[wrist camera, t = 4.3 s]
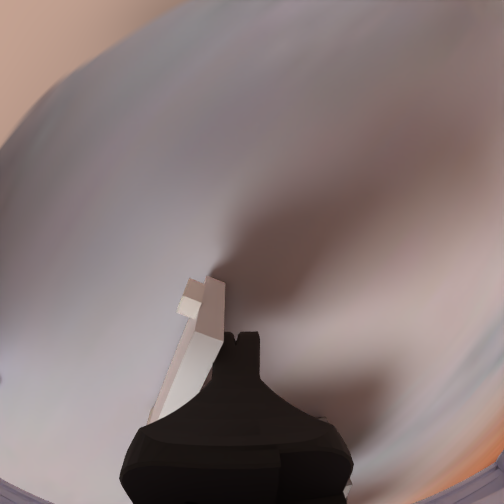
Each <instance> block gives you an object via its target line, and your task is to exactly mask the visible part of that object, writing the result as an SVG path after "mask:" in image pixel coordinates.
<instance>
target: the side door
mask: <svg viewBox="0 0 504 504" xmlns="http://www.w3.org/2000/svg"><path fill="white" fill-rule="evenodd" d="M224 309H225V283H224V282H222V281H219V280H217V279H214V278H212V277H209V276H206V278H205V281H204V283H200V282H198V281H195V280H193V279H191V278H189V280H188V283H187V285H186V288H185V290H184V293H183V296H182V298H181V301H180V303H179V306H178V309H177V311H176V312H177V313H180V314H182V315H185V316H187V317H189V319H188V322H187V324H186V327H185V329H184V332H183V334H182V337H181V339H180V342H179V344H178V347H177V349H176V352H175V354H174V357H173V359H172V362H171V364H170V367H169V370H168V372H167V375H166V377H165V380H164V382H163V385H162V388H161V390H160V393H159V396H158V398H157V401H156V403H155V406H154V408H152V409H151V411H150V414H149V418H148V421H147V425H148V424H150V423H153V422H155V421H157V420H159V419H161V418H163V417H165V416H167V415H169V414H170V413H172V412H174V411H175V410H177V409H178V408H180V407H181V406H183V405H184V404H186V403H187V402H188V401H190V400H191V399H192V398H193V397H194V396H196V395H197V394H198V393H199V392H200V390H201V387H202V385H203V383H204V381H205V379H206V377H207V375H208V373H209V371H210V369H211V367H212V365H213V363H214V361H215V359H216V357H217V355H218V352H219V350H220V348H221V346H222V344H223V342H224Z"/></svg>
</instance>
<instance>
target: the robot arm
mask: <svg viewBox="0 0 504 504" xmlns="http://www.w3.org/2000/svg"><path fill="white" fill-rule="evenodd" d="M259 368H260V337H259V334H258V332H240V333H239V334H238V338H237V341H236V342H235V339H234V335H233V334H232V333H231V332H224V342H223V344H222V346H221V348H220V350H219V352H218V355H217V357H216V359H215V361H214V363H213V373H212V380H211V381H210V382H209V383H208V384H207V385H206V386H205V387H204V388H203V389H202V390H201V391H200V392H199V393H198V394H197V395H196V396H194V397H193V398H192V399H191V400H190V401H188V402H187V403H186V404H184V405H183V406H181V407H180V408H178V409H177V410H175V411H174V412H172V413H170V414H169V415H167V416H165V417H163V418H161V419H159V420H157V421H155V422H153V423H150V424H148V425H146V426H144V427H141V428H139V430H138V432H137V433H136V435H135V437H134V439H133V441H132V443H131V444H130V446H129V448H128V450H127V453H126V456H125V459H124V462H123V465H122V469H121V472H120V477H119V479H120V482H121V485H122V487H123V488H124V490H125V492H126V493H127V495H128V496H129V498H130V499H131V501H132V502H133V504H346V498H345V495H344V492H343V491H344V489H345V487H346V485H347V482H348V480H349V478H350V476H351V473H352V470H353V465H354V463H353V461H352V457H351V454H350V452H349V450H348V448H347V446H346V444H345V442H344V441H343V439H342V437H341V436H340V434H339V433H338V431H337V430H336V428H335V427H334V426H333V425H331V424H329V423H327V422H324V421H322V420H319V419H317V418H315V417H312V416H310V415H308V414H306V413H304V412H302V411H301V410H299V409H297V408H295V407H294V406H292V405H290V404H289V403H288V402H286V401H285V400H283V399H282V398H281V397H279V396H278V395H277V394H276V393H274V392H273V391H272V390H271V389H270V388H269V387H268V386H267V385H266V384H265V383H264V382H263V381H262V380H261V379H260V375H259ZM0 504H54V503H51V502H49V501H47V500H44V499H42V498H39V497H37V496H35V495H33V494H31V493H28V492H26V491H24V490H22V489H20V488H18V487H16V486H14V485H12V484H10V483H8V482H6V481H5V480H3V479H1V478H0ZM413 504H504V450H503V451H502V453H501V454H500V455H499V457H498V458H497V460H496V462H495V463H493V464H492V465H490V466H488V467H487V468H485V469H483V470H482V471H480V472H478V473H476V474H475V475H473V476H471V477H469V478H467V479H466V480H464V481H462V482H460V483H458V484H456V485H454V486H452V487H450V488H448V489H446V490H444V491H441V492H439V493H437V494H435V495H433V496H430V497H428V498H426V499H423V500H421V501H418V502H416V503H413Z"/></svg>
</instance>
